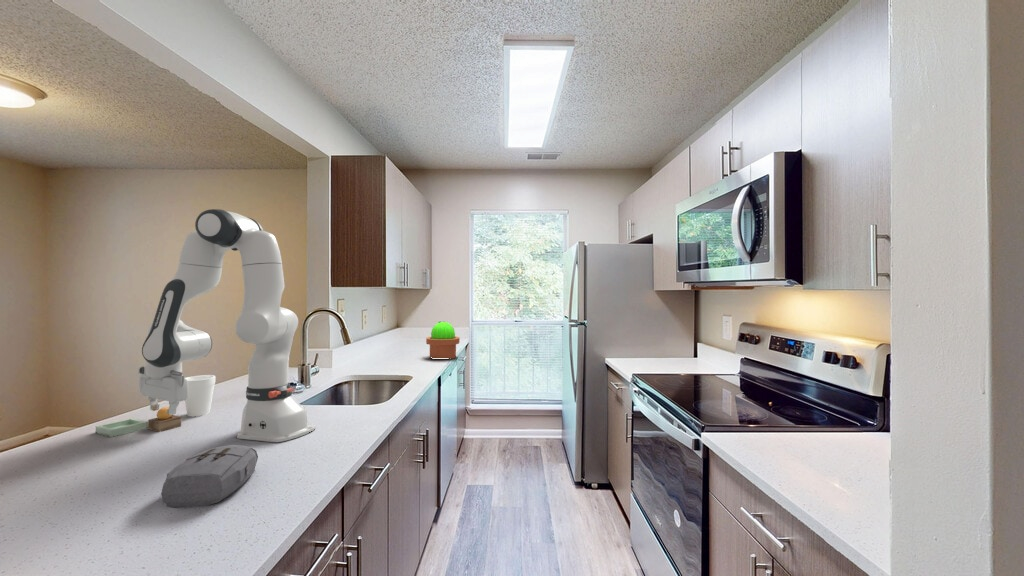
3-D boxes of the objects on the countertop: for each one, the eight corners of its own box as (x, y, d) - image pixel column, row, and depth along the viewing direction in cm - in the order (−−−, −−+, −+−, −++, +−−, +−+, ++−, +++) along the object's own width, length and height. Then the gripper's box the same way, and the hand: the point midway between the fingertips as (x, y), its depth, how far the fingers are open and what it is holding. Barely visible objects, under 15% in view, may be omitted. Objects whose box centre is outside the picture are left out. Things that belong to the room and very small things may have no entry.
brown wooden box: (181, 426, 130) (181, 416, 130) (158, 431, 124) (158, 422, 124) (170, 423, 132) (170, 414, 132) (148, 429, 127) (148, 419, 127)
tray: (147, 427, 128) (147, 421, 128) (110, 437, 120) (110, 430, 120) (132, 424, 131) (132, 417, 131) (95, 432, 123) (95, 426, 123)
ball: (175, 418, 129) (176, 406, 129) (160, 422, 126) (161, 409, 126) (168, 417, 131) (168, 405, 131) (153, 420, 127) (154, 408, 127)
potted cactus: (457, 360, 257) (457, 322, 257) (423, 360, 256) (423, 321, 256) (460, 355, 278) (461, 319, 279) (429, 355, 278) (429, 319, 278)
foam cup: (176, 415, 141) (177, 378, 141) (206, 408, 149) (207, 374, 149) (190, 419, 136) (190, 381, 136) (220, 412, 145) (220, 376, 145)
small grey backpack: (230, 506, 82) (270, 465, 102) (230, 466, 82) (270, 432, 102) (146, 513, 80) (204, 469, 99) (147, 471, 80) (204, 435, 99)
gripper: (195, 370, 127) (193, 414, 127) (158, 364, 135) (157, 405, 135) (171, 374, 121) (170, 419, 121) (135, 367, 129) (133, 410, 129)
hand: (162, 412), depth 128 cm, fingers open, 8 cm apart
